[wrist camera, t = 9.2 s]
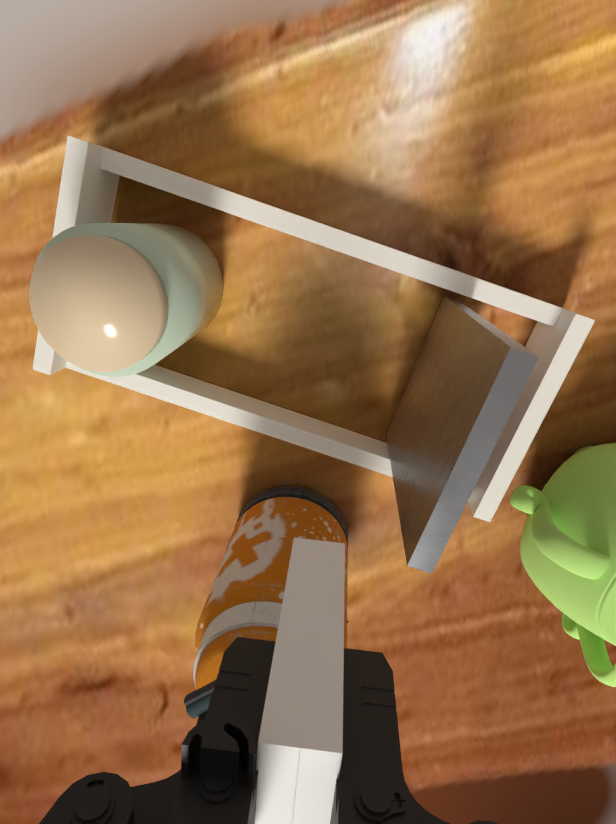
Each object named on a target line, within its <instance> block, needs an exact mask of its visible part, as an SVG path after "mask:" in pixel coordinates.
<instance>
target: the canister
mask: <svg viewBox="0 0 616 824" xmlns="http://www.w3.org/2000/svg"><path fill="white" fill-rule="evenodd" d="M294 538H302V539H311V540H320V541H329V542H338V543H345V581H344V648H346V649H347V623H348V621H347V565H348V549H347V548H348V534H347V528H346V524H345V522H344V519H343V517H342V515H341V514H340V512H339V511H338V509H337V508H336V507H335V506H334V505H333V504H332V503H331V502H330V501H329V500H328V499H326V498H325V497H323V496H322V495H320V494H318V493H316V492H314V491H311V490H309V489H305V488H301V487H293V486H283V487H277V488H272V489H269V490H266V491H264V492H262V493H260V494H258V495H257V496H255V497H254V498H253V499H251V500H250V501H249V502H248V503H247V504H246V505H245V507H244V508H243V510H242V511H241V513H240V516H239V518H238V521H237V523H236V526H235V529H234V531H233V533H232V536H231V539H230V541H229V544H228V546H227V549H226V552H225V554H224V557H223V559H222V562H221V565H220V567H219V570H218V572H217V575H216V578H215V580H214V583H213V585H212V588H211V591H210V593H209V596H208V598H207V601H206V604H205V606H204V609H203V611H202V614H201V616H200V619H199V622H198V624H197V629H196V633H195V645H196V651H197V656H196V659H195V663H194V667H193V678H194V684H195V687H196V690H195V691H193V692H191V693H190V694H188V695H187V696H186V697H185V700H184V704H185V705H186V710H187V713H188V715H189V716H190V717H191V718H196V717H198V716H199V718H198V722H197V724H199V723H200V722H203V721H204V720H205V716H206V713H207V710H208V706H209V703H210V699H211V696H212V692H213V689H214V686H215V682H216V679H217V675H218V673H219V668H220V665H221V661H222V658H223V655H224V652H225V650H226V649H227V648H228V647H229V646H230V645H231V644H232V642H233V641H234V640H235V639H236V638H237V637H244V638H252V639H260V640H268V641H276V637H277V631H278V625H279V620H280V614H281V608H282V602H283V597H284V591H285V585H286V580H287V574H288V568H289V562H290V557H291V551H292V545H293V540H294Z"/></svg>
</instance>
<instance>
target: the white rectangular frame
mask: <svg viewBox="0 0 616 824" xmlns="http://www.w3.org/2000/svg"><path fill="white" fill-rule="evenodd" d="M120 175H121V176H124V177H126V178H129V179H132V180H135V181H138V182H141V183H144V184H146V185H149V186H152V187H155V188H158V189H161V190H164V191H167V192H169V193H172V194H175V195H178V196H181V197H184V198H187V199H189V200H192V201H195V202H198V203H201V204H204V205H207V206H209V207H212V208H215V209H218V210H221V211H224V212H227V213H230V214H232V215H235V216H238V217H241V218H244V219H247V220H250V221H252V222H255V223H258V224H261V225H264V226H267V227H270V228H272V229H275V230H278V231H281V232H284V233H287V234H290V235H293V236H295V237H298V238H301V239H304V240H307V241H310V242H313V243H315V244H318V245H321V246H324V247H327V248H330V249H333V250H335V251H338V252H341V253H344V254H347V255H350V256H353V257H356V258H358V259H361V260H364V261H367V262H370V263H373V264H376V265H378V266H381V267H384V268H387V269H390V270H393V271H396V272H398V273H401V274H404V275H407V276H410V277H413V278H416V279H419V280H421V281H424V282H427V283H430V284H433V285H436V286H439V287H441V288H444V289H447V290H450V291H453V292H456V293H459V294H461V295H464V296H467V297H470V298H473V299H476V300H479V301H481V302H484V303H487V304H490V305H493V306H496V307H499V308H502V309H504V310H507V311H510V312H513V313H516V314H519V315H522V316H524V317H527V318H530V319H533V320H536V321H537V323H536V325H535V327H534V329H533V331H532V333H531V335H530V337H529V339H528V342H527V344H526V346H525V347H526V348H527V349H528V350H530V351H531V352H533V353H534V354H536V355H537V356H538V357H539V359H538V361H537V363H536V365H535V367H534V369H533V371H532V373H531V375H530V377H529V379H528V381H527V383H526V385H525V387H524V389H523V391H522V393H521V395H520V397H519V399H518V401H517V403H516V405H515V407H514V409H513V411H512V413H511V415H510V417H509V419H508V421H507V423H506V425H505V427H504V429H503V431H502V433H501V435H500V437H499V439H498V441H497V443H496V445H495V447H494V450H493V452H492V454H491V456H490V458H489V460H488V462H487V464H486V466H485V468H484V470H483V472H482V474H481V476H480V478H479V480H478V482H477V484H476V486H475V488H474V490H473V492H472V494H471V496H470V498H469V500H468V502H467V503H468V505H469V508H470V510H471V512H472V515H473V517H476V518H479V519H482V520H485V521H488V522H490V521H491V519H492V517H493V515H494V513H495V512H496V510H497V508H498V506H499V504H500V502H501V500H502V498H503V496H504V494H505V492H506V490H507V488H508V487H509V485H510V483H511V481H512V479H513V477H514V475H515V473H516V471H517V469H518V467H519V465H520V464H521V462H522V460H523V458H524V456H525V454H526V452H527V450H528V448H529V446H530V444H531V442H532V441H533V439H534V437H535V435H536V433H537V431H538V429H539V427H540V425H541V423H542V421H543V419H544V418H545V416H546V414H547V412H548V410H549V408H550V406H551V404H552V402H553V400H554V398H555V396H556V394H557V393H558V391H559V389H560V387H561V385H562V383H563V381H564V379H565V377H566V375H567V373H568V371H569V370H570V368H571V366H572V364H573V362H574V360H575V358H576V356H577V354H578V352H579V350H580V348H581V347H582V345H583V343H584V341H585V339H586V337H587V335H588V333H589V331H590V329H591V327H592V325H593V323H594V322H595V320H593V319H590V318H588V317H585V316H583V315H580V314H578V313H575V312H572V311H570V310H567V309H565V308H562V307H559V306H556V305H554V304H551V303H548V302H545V301H542V300H539V299H536V298H534V297H531V296H528V295H525V294H522V293H519V292H517V291H514V290H511V289H508V288H505V287H502V286H499V285H497V284H494V283H491V282H488V281H485V280H482V279H479V278H477V277H474V276H471V275H468V274H465V273H462V272H460V271H457V270H454V269H451V268H448V267H445V266H442V265H440V264H437V263H434V262H431V261H428V260H425V259H422V258H420V257H417V256H414V255H411V254H408V253H405V252H403V251H400V250H397V249H394V248H391V247H388V246H385V245H383V244H380V243H377V242H374V241H371V240H368V239H365V238H363V237H360V236H357V235H354V234H351V233H348V232H346V231H343V230H340V229H337V228H334V227H331V226H328V225H326V224H323V223H320V222H317V221H314V220H311V219H308V218H306V217H303V216H300V215H297V214H294V213H291V212H288V211H286V210H283V209H280V208H277V207H274V206H271V205H269V204H266V203H263V202H260V201H257V200H254V199H251V198H249V197H246V196H243V195H240V194H237V193H234V192H231V191H229V190H226V189H223V188H220V187H217V186H214V185H212V184H209V183H206V182H203V181H200V180H197V179H194V178H192V177H189V176H186V175H183V174H180V173H177V172H174V171H172V170H169V169H166V168H163V167H160V166H157V165H155V164H152V163H149V162H146V161H143V160H140V159H137V158H135V157H132V156H129V155H126V154H123V153H120V152H117V151H115V150H112V149H109V148H106V147H103V146H100V145H97V144H93V143H90V142H87V141H84V140H81V139H78V138H74V137H71V136H68V139H67V145H66V152H65V158H64V165H63V172H62V178H61V185H60V191H59V198H58V205H57V211H56V218H55V224H54V231H53V238H54V237H55V236H56V235H58V234H59V233H60V232H62V231H64V230H66V229H68V228H70V227H73V226H76V225H79V224H85V223H111V221H112V215H113V210H114V204H115V199H116V194H117V188H118V183H119V178H120ZM53 238H52V239H53ZM64 368H68V369H71V370H74V371H77V372H80V373H83V374H86V375H89V376H92V377H95V378H98V379H101V380H104V381H107V382H110V383H113V384H116V385H119V386H122V387H125V388H128V389H131V390H134V391H137V392H140V393H143V394H146V395H149V396H152V397H155V398H158V399H161V400H164V401H167V402H170V403H173V404H176V405H179V406H182V407H185V408H188V409H191V410H194V411H197V412H200V413H203V414H206V415H209V416H212V417H214V418H217V419H220V420H223V421H226V422H229V423H232V424H235V425H238V426H241V427H244V428H247V429H250V430H253V431H256V432H259V433H262V434H265V435H268V436H271V437H274V438H277V439H280V440H283V441H286V442H289V443H292V444H295V445H298V446H301V447H304V448H307V449H310V450H313V451H316V452H319V453H322V454H325V455H328V456H331V457H334V458H337V459H340V460H343V461H346V462H349V463H352V464H355V465H358V466H361V467H364V468H367V469H370V470H373V471H376V472H379V473H382V474H385V475H388V476H391V477H393V475H392V469H391V463H390V457H389V451H388V445H387V443H386V442H383V441H380V440H377V439H374V438H371V437H368V436H365V435H362V434H359V433H356V432H353V431H350V430H347V429H344V428H341V427H338V426H335V425H332V424H329V423H326V422H323V421H320V420H317V419H314V418H311V417H308V416H305V415H303V414H300V413H297V412H294V411H291V410H288V409H285V408H282V407H279V406H276V405H273V404H270V403H267V402H264V401H261V400H258V399H255V398H252V397H249V396H246V395H243V394H240V393H237V392H234V391H231V390H228V389H225V388H222V387H219V386H216V385H214V384H211V383H208V382H205V381H202V380H199V379H196V378H193V377H190V376H187V375H184V374H181V373H178V372H175V371H172V370H169V369H166V368H163V367H160V366H157V365H153V366H151V367H150V368H148V369H146V370H144V371H142V372H140V373H137V374H133V375H130V376H123V377H108V376H101V375H97V374H94V373H90V372H88V371H85V370H83V369H81V368H79V367H77V366H76V365H74V364H72V363H70V362H68V361H67V360H65V359H64V358H62V357H61V356H60V355H58V354H57V353H56V352H55V351H54V350H53V349H52V348H51V347H50V346H49V345H48V344H47V342H46V341H45V340H44V338H43V337H42V335H41V334H40V332H39V330H38V337H37V343H36V350H35V356H34V363H33V370H36V371H39V372H42V373H45V374H48V375H52V374H54V373H56V372H58V371H60V370H62V369H64Z"/></svg>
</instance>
